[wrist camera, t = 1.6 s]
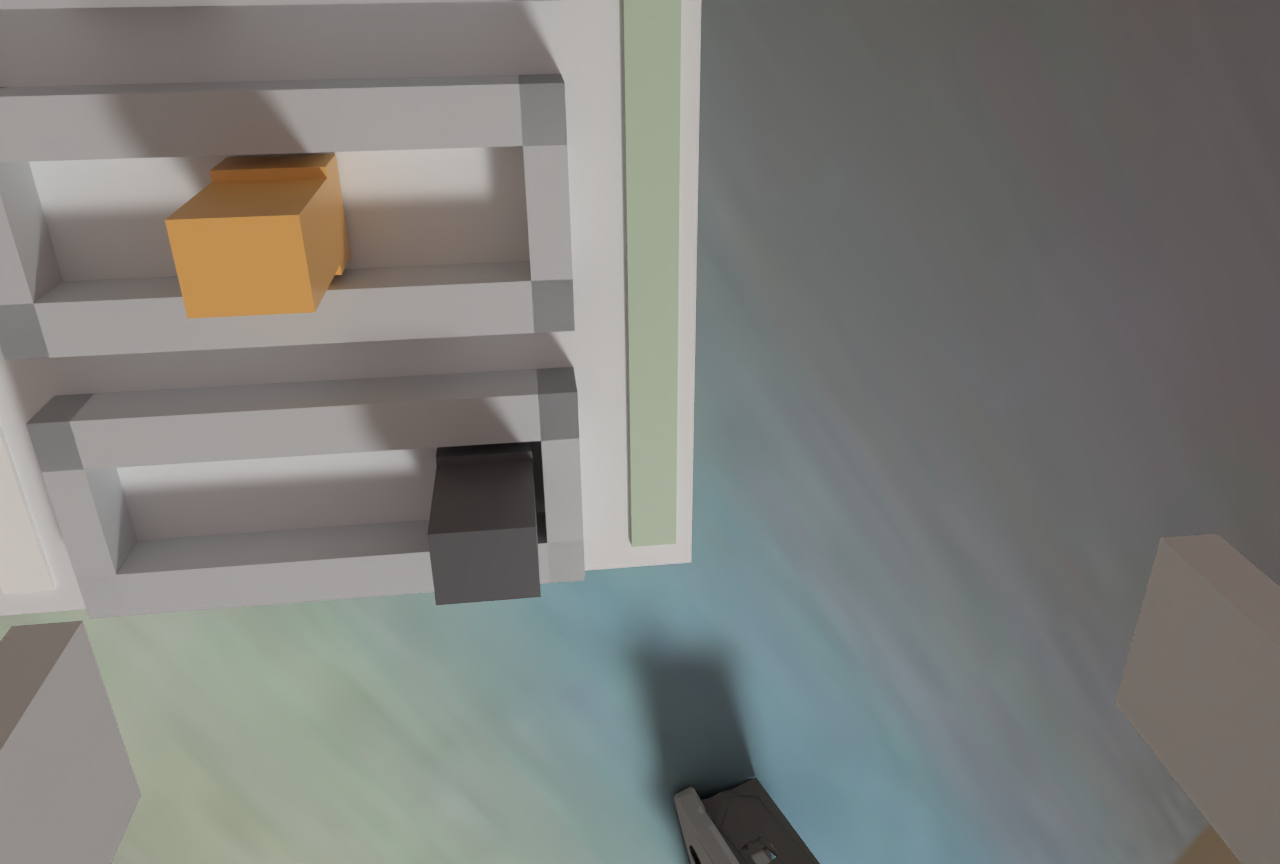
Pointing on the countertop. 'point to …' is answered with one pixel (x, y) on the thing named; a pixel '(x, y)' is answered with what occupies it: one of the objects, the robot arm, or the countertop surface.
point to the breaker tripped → (261, 237)
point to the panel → (375, 231)
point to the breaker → (484, 524)
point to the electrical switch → (738, 828)
